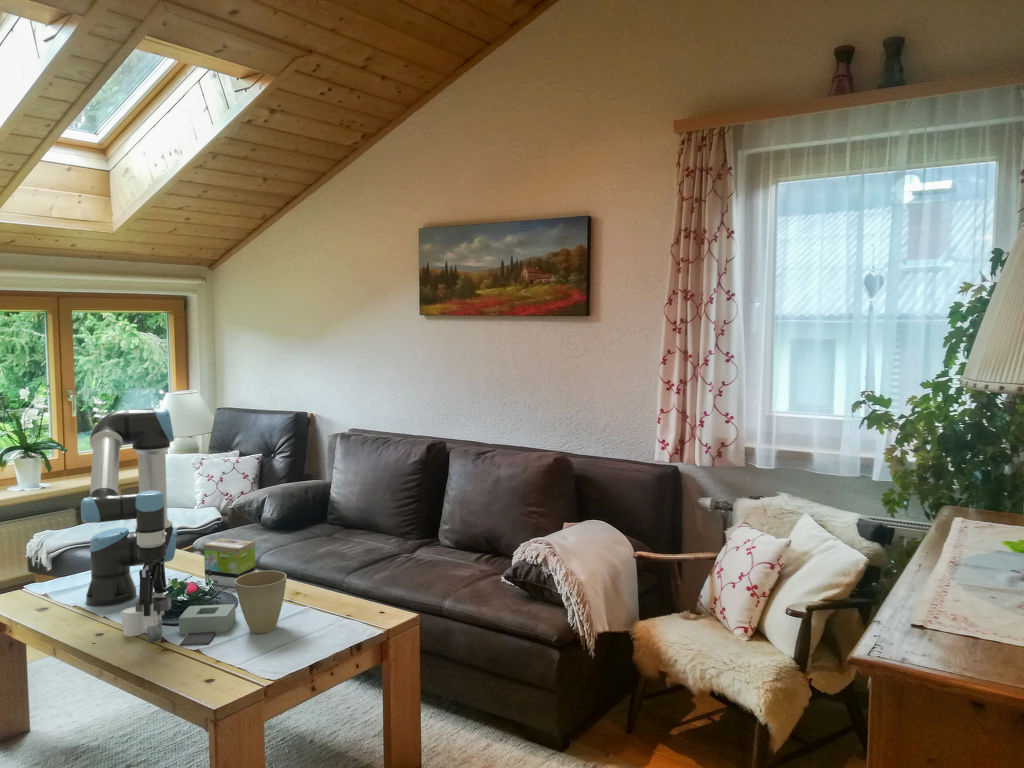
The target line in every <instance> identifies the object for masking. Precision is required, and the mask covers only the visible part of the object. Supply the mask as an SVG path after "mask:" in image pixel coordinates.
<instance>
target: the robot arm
mask: <svg viewBox="0 0 1024 768" xmlns="http://www.w3.org/2000/svg"><path fill="white" fill-rule="evenodd" d="M174 441H175V436H174V431H173V425H172V420H171V414H170V411H169V410H168V409H167V408H159V407H157V408H155V407H154V408H153V407H152V408H135V409H119V410H114V411H112V412H110V413H108V414H107V415H105V416H104V417H102V418H101V419H100V420H99V421H98V422H97V423H96V424H95V426H94V427H93V429H92V431H91V433H90V437H89V445H90V448H91V449H92V460H91V461H92V462H91V473H90V475H91V476H90V488H89V496H88V497H83V498H82V499H81V502H80V518H81V521H82V522H83V523H85V524H92V523H93V524H94V523H95V524H96V523H97V524H98V523H105V522H114V521H115V522H116V521H125V520H135V521H136V525H135V528H134V529H135V531H130V530H129V528H127V527H115V528H111V529H107V530H103V531H101V532H100V531H99V532H98V533H96V534H95V535H93V536H92V537H91V538H90V543H89V544H90V549H89V552H90V572H91V573H90V574H91V576H90V577H91V578H90V579H91V580H90V582H89V586H88V588H87V592H86V596H85V597H86V599H85V600H86V604H87V605H88V606H95V607H103V606H104V607H105V606H106V607H107V606H113V605H114V606H115V605H118V604H123V603H125V602H129V601H131V600H132V599H135V597H137V587H136V585H135V583H134V579H133V577H132V574H131V570H130V569H131V567H137V566H142V569H140V570H139V571H138V574H139V597H138V599H139V605H143V627H145V628H146V627H147V626H154V609H153V603H152V598H161V597H165V594H164V593H167V591H168V589H167V580H166V579H167V578H166V571H165V563H167V562H172V560H174V558H175V555H176V547H177V540H178V539H177V535H178V528H177V527H175V526H173V522H172V521H171V520H170V519H168V498H167V496H168V494H167V493H168V492H167V466H166V463H167V461H166V460H167V459H166V452H167V450H169V448H171V443H172V442H174ZM123 445H132V450H133V451H134V452H135V453H137V466H138V469H137V471H138V493H128V494H119V479H120V477H119V475H120V474H119V472H120V450H121V449H122V447H123ZM164 615H165V611H161V616H164Z"/></svg>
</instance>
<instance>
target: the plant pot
mask: <svg viewBox="0 0 1024 768" xmlns="http://www.w3.org/2000/svg"><path fill="white" fill-rule="evenodd" d="M286 583H287V573H285V572H283V571H279V570H258V571H255V572H252V573H248V574H245V575H242V576H240V577H238V578H237V579H236V580H235V585H236V587H235V589H236V590H235V591H236V594H237V599H238V602H239V606H240V610H241V612H242V615H243V618H244V620H245V622H246V625H247V627H248V630H249V631H250V632H251V633H252V634H267V633H270V632H272V631H274V630H275V629H276V628H277V624H278V621H279V618H280V615H281V611H282V607H283V602H284V597H285V592H286Z"/></svg>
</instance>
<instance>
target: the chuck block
mask: <svg viewBox="0 0 1024 768" xmlns="http://www.w3.org/2000/svg"><path fill="white" fill-rule="evenodd" d="M236 618H237V616H236V603H235V604H234V603H232V604H230V603H229V604H209V605H207V604H206V605H188V606H187V608H186V609H185V610H184V611H183V613H182V614H180V616H179V617H178V635H187V634H188V633H201V632H216V633H228V632H229V630H230V629H231V628H232V626H233V625H234V622H236V620H237V619H236Z"/></svg>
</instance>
